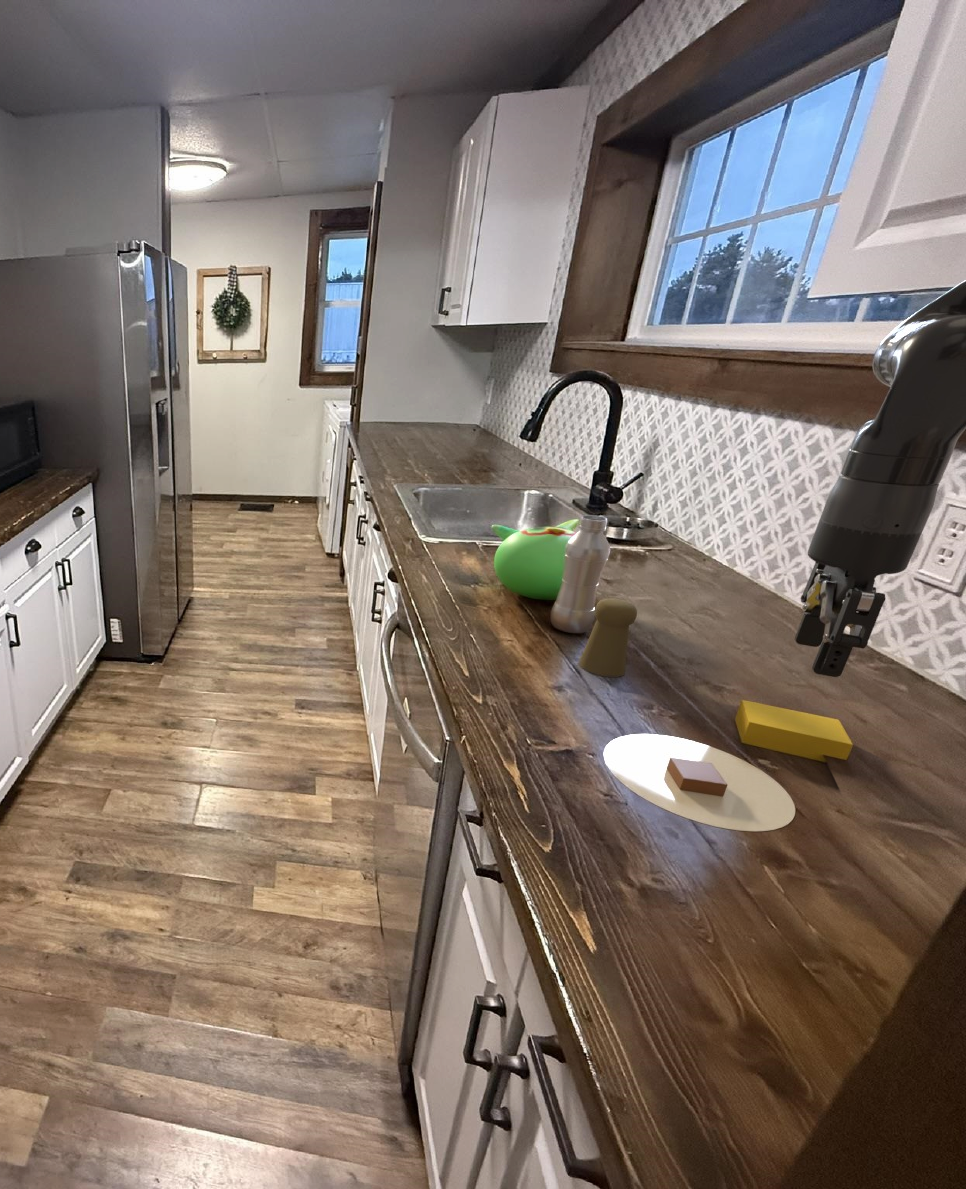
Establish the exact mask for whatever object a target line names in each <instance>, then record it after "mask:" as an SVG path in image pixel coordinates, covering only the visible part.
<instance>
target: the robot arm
mask: <svg viewBox="0 0 966 1189" xmlns="http://www.w3.org/2000/svg"><path fill="white" fill-rule="evenodd" d="M871 367H872V372H873V374H874V376H875V377H876V379H877V380H878V381H879V382H880V383H881V384H883V385H885V386H887V387H889V389H888V392H887V394H886V396H885V398H884V401H883V403H882V404H881V407H880V409H879V411H878V413H877V414H876V415H875V417H874V418H873V419H871V420H869V421H867V422H865V423H864V424H863V425H862V426H860V427H859V429H858V430H857V432H856V434H855V435H854V437H853V439H852V442H851V444H850V446H849V449H848V452H847V454H846V457H845V460H844V462H843V465H842V468H841V471H840V474H839V475H838V478H837V480H836V482H835V483H834V485H833V487H832V488H831V491H830V492H829V494H828V497H827V499H826V502H825V503H824V507H823V510H822V512H821V514H820V517H819V520H818V523H817V525H816V527H815V531H814V534H813V536H812V538H811V541H810V544H809V547H808V550H807V556H808V558H809V559H811V560H812V561H814V565H813V567H812V570H811V572H810V574H809V578H808V579H807V582H806V585H805V587H804V590H803V592H802V594H801V596H800V603H804V604H803V605H802V612H803V615H802V618H801V620H800V623H799V626H798V628H797V630H796V633H795V635H794V641H795V642H796V644H798V645H801V646H808V647H814V648H817V647H819V649H818V651H817V653H816V656H815V659H814V661H813V663H812V666H811V669H812V671H813V672H814V673H815V674H816V675H821V676H826V677H831V678H838V677H841V676H842V673H843V672H844V669H845V667H846V665H847V662H848V660H849V658H850V655H851V653H852V650H853V649H855V648H856V649H862V650H863V649H866V647H867V646H868V644H869V640H870V638H871V635H872V632H873V630H874V628H875V625H876V623H877V620H878V619H879V615H880V613H881V610H882V607H883V605H884V603H885V601H886V594H885V593H883V592H877V587H876V586H874V585H875V582H876V578H877V577H878V576H881V575H893V574H900V573H902V572H904V571H906V569H907V568H908V566H909V563H910V562H911V560H912V556H913V555H914V552H915V550H916V548H917V545H918V544H919V541H920V538H921V536H922V534H923V531H924V529H925V527H926V525H927V522H928V520H929V518H930V515H931V514H932V511H933V508H934V505H935V502H936V496H937V493H938V488H939V486H940V483H941V481H942V479H943V477H944V475H945V472H946V470H947V467H948V465H949V462H950V460H951V458H952V455H953V453H954V451H955V447H956V444H957V442H958V440H959V438H960V437H961V436H962V434H963V433H964V432H965V430H966V279H965V280H964V281H962V282H961V283H958V284H957V285H956V286H955V287H953V288H951V289H949V290H948V291H947V292H945V293H944V294H942V295H940V296H938V298H936V299H934V300H933V301H931V302H930V303H928V304H927V305H925V306H924V307H922V308H921V309H919V310H918V311H916V312H915V313H914V314H912V315H911V316H910V317H908V318H907V319H905V320H904V321H902V322H901V323H900V324H899V325H898V326H896V327H895V328H894V329H893V330H892V331H890V333H889V334H888V335H887V336H885V338H884V339H883V340H882V341H881V342H880V344H879V345H878V347H877V349H876V351H875V353H874V354H873V357H872V365H871ZM846 627H848V628H849V634H848V633H844V632H845V630H846Z"/></svg>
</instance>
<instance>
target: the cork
mask: <svg viewBox="0 0 966 1189" xmlns="http://www.w3.org/2000/svg"><path fill="white" fill-rule="evenodd" d="M594 607H595V616H594V618H596V621H595V623H594V625H593V627H592V630H591V633H590V635H589V637H588V639H587V642H586V644H585V647H584V649H583V651H582V653H581V656H580V659H579V661H578V666H579V667H580V668H582V669H583V670H584V671H587V672H588V673H591V674H593V675H597V676H601V677H608V678H618V677H619V678H620V677H622V676H624V675H625V674H626V665H627V655H628V644H629V635H630V634H629V633H630V632H629V631H630V626H631V625H632V624H634V623H635V621H636V619H637V618H638V617H637V616H638V609H637V607H636V605H635V604H633V603H632V602H630V601H627V600H624V599H620V598H613V597H609V598H603V599H600V600H599V601H598V602H597V603H596V604H595V606H594Z"/></svg>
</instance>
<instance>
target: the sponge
mask: <svg viewBox="0 0 966 1189" xmlns="http://www.w3.org/2000/svg"><path fill="white" fill-rule="evenodd" d="M734 722H735V727H736V729H737V733H738V735H739V739H740V742H741V744H743V745H747V746H752V747H754V748H755V747H756V748H760V749H765V750H769V751H773V752H777V753H782V754H787V755H790V756H794V757H799V758H803V759H808V760H812V761H816V762H820V763H824V764H827V760H826V758H825V756H826V757H827V756H828V757H832V758H834V759H835V758H836V759H840V760H845V761H847V760H848V757H849V755H850V753H851V751H852V749H853V747H854V743H853V741H852V740H851V739H850V737H849V735H848V733H847V731H846V729H845V727H844V726H843V724H842V723H841V721H840V720H839V719H837V718H832V717H828V716H823V715H817V714H814V713H808V712H802V711H799V710H794V709H788V708H783V707H780V706H779V707H778V706H776V705H775V706H774V705H769V704H765V703H761V702H760V703H759V702H754V701H750V700H745V699H741V701H740V704H739V706H738V710H737V712H736V715H735V718H734Z"/></svg>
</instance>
